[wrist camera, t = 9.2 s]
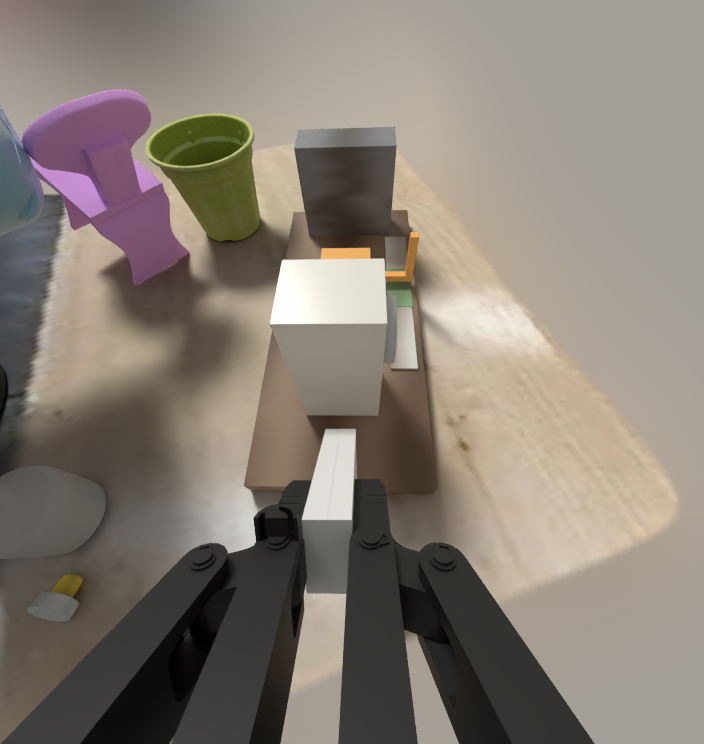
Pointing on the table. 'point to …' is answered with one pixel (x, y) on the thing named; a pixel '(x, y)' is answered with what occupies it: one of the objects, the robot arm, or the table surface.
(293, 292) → the block
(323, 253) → the orange l-shaped piece
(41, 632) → the table surface
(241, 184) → the plant pot
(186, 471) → the table surface
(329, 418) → the gauge board
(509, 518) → the table surface
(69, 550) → the reed diffuser
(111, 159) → the toy chair
